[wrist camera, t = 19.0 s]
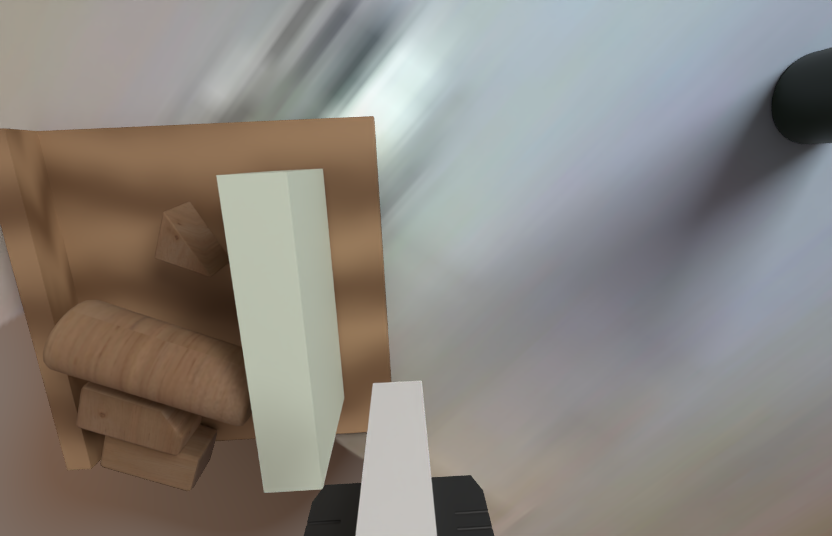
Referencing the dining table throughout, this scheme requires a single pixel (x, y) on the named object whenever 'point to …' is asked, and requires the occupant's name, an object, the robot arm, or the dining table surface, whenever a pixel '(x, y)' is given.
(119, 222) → the wooden board
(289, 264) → the bookend
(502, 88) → the dining table surface
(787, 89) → the wine bottle
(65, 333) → the wooden block set
